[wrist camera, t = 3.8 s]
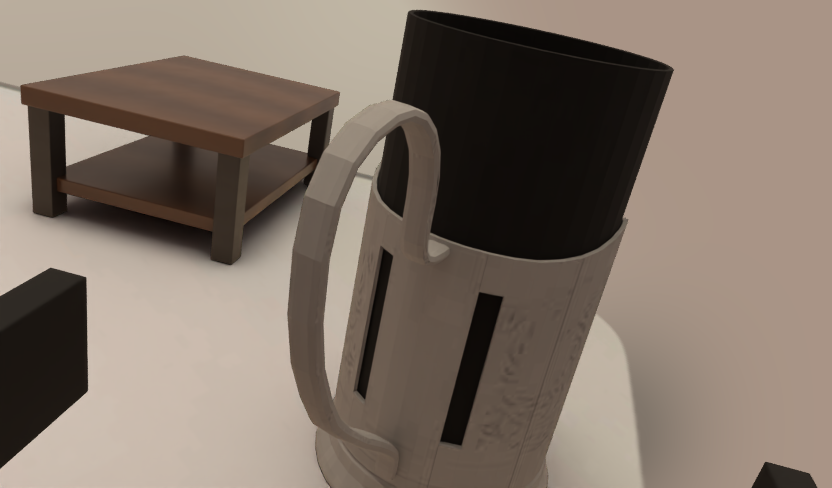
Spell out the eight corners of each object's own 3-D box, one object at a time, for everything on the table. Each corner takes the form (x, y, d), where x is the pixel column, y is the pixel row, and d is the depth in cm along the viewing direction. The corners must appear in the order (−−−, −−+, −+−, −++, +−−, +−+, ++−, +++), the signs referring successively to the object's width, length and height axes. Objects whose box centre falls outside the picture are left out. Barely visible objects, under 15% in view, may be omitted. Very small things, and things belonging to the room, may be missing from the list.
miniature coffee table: (233, 267, 34) (244, 139, 31) (26, 212, 35) (19, 84, 32) (327, 183, 48) (340, 91, 46) (179, 147, 49) (183, 55, 47)
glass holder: (575, 441, 26) (713, 69, 20) (401, 781, 14) (614, 113, 8) (393, 352, 29) (464, 11, 23) (128, 567, 17) (136, -19, 11)
